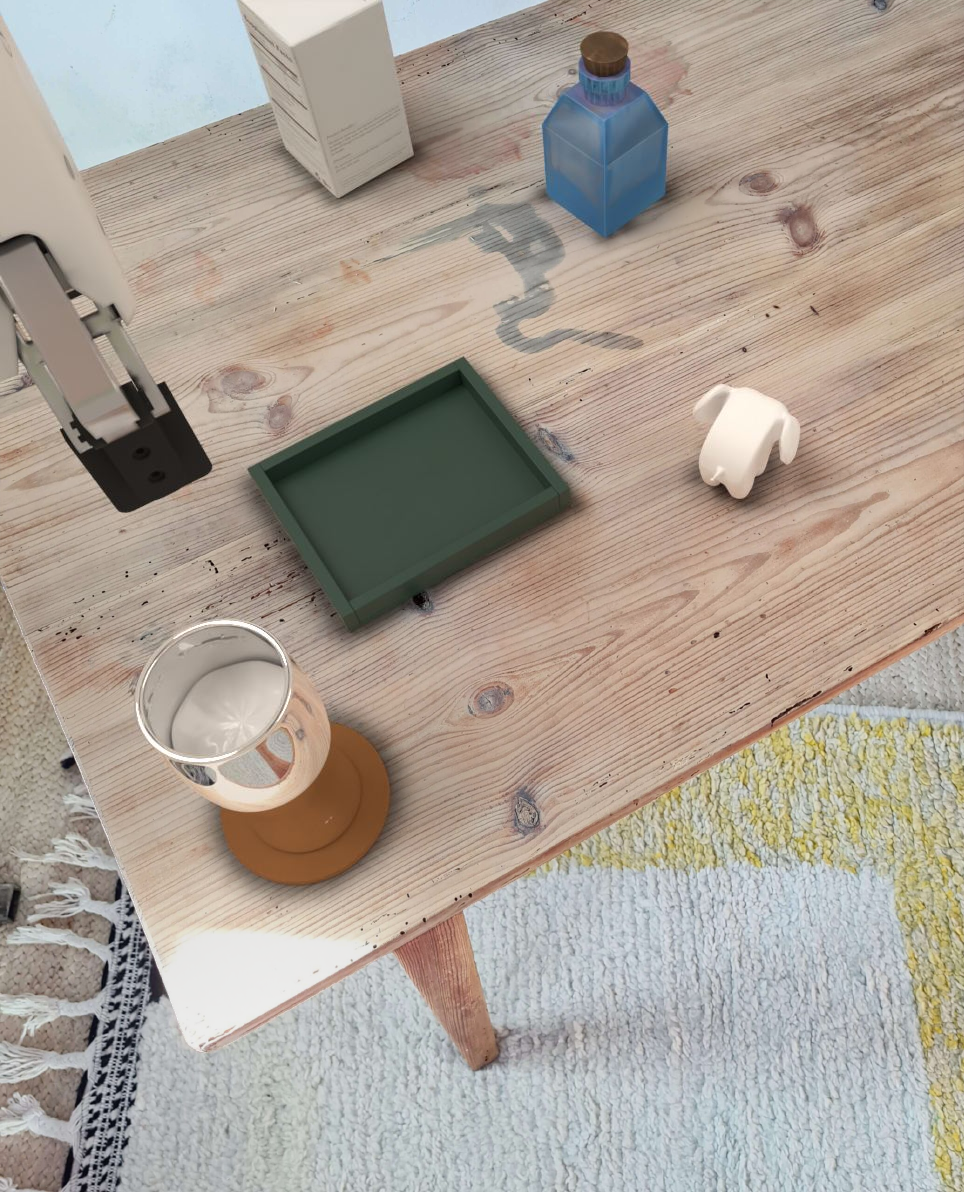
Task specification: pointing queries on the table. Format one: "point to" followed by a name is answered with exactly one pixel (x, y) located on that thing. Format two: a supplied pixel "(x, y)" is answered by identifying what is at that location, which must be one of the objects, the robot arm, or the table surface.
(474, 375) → the tray
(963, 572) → the table surface
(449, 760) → the table surface
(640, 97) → the perfume bottle
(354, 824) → the coaster
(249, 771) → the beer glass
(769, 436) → the elephant figurine
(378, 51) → the white packaging box
